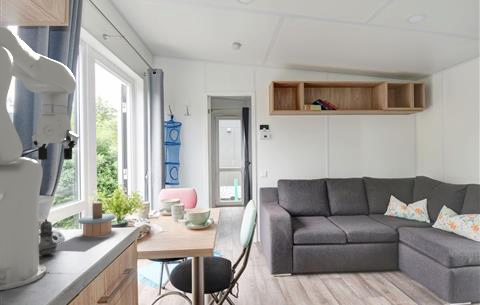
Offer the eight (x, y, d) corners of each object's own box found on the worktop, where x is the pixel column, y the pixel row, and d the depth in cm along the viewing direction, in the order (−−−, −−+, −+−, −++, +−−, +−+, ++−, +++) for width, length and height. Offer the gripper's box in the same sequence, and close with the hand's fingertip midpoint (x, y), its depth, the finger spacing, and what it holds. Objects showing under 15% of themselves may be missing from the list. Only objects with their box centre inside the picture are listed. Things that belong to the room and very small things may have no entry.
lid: (102, 224, 100) (102, 206, 100) (70, 223, 101) (70, 206, 101) (121, 216, 113) (121, 200, 113) (92, 215, 114) (92, 199, 114)
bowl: (101, 237, 102) (101, 223, 101) (77, 237, 102) (77, 222, 102) (116, 229, 111) (116, 216, 111) (93, 229, 112) (93, 216, 112)
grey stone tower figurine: (29, 259, 81) (29, 220, 81) (48, 252, 87) (48, 216, 87) (44, 261, 80) (43, 221, 79) (62, 254, 85) (61, 217, 85)
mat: (85, 252, 86) (84, 251, 86) (45, 251, 88) (45, 250, 88) (110, 238, 100) (110, 237, 100) (75, 237, 101) (75, 236, 101)
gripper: (23, 110, 92) (23, 160, 92) (69, 109, 90) (70, 159, 90) (41, 113, 99) (41, 159, 99) (84, 112, 97) (85, 159, 97)
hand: (55, 159), depth 95 cm, fingers open, 9 cm apart
